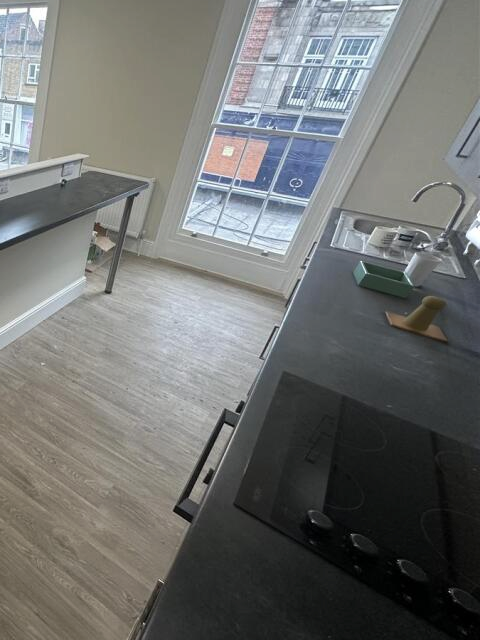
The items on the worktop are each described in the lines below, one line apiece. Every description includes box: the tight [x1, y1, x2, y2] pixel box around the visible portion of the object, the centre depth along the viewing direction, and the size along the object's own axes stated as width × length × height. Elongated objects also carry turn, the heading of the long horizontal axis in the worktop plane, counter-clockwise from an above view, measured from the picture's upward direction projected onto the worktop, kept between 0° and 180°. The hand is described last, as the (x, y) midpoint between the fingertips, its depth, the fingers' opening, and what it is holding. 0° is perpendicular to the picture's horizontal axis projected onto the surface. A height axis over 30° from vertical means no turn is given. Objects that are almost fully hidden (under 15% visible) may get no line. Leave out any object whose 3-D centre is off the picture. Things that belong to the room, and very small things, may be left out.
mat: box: [384, 311, 448, 343], centre depth 136 cm, size 14×10×1 cm
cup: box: [403, 252, 443, 287], centre depth 164 cm, size 8×8×12 cm
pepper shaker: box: [404, 295, 447, 331], centre depth 133 cm, size 6×6×11 cm
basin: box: [352, 260, 416, 299], centre depth 161 cm, size 15×15×6 cm
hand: (472, 261), depth 126 cm, fingers open, 8 cm apart
